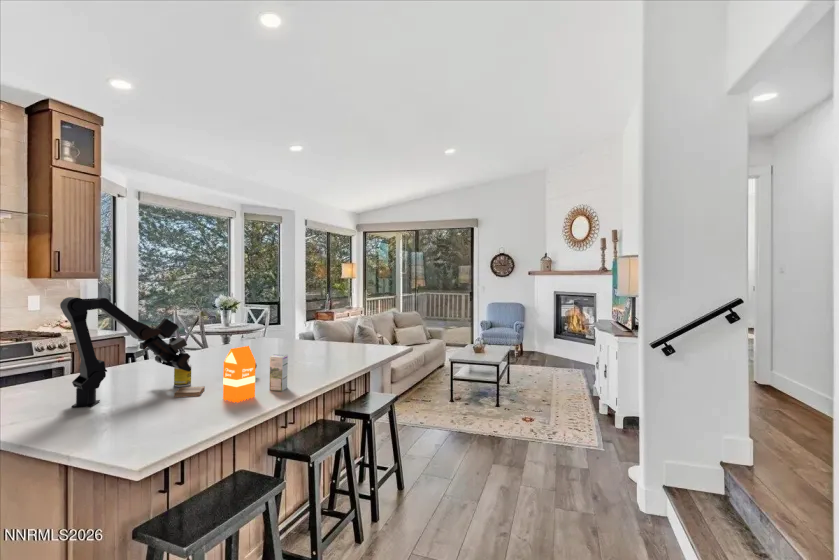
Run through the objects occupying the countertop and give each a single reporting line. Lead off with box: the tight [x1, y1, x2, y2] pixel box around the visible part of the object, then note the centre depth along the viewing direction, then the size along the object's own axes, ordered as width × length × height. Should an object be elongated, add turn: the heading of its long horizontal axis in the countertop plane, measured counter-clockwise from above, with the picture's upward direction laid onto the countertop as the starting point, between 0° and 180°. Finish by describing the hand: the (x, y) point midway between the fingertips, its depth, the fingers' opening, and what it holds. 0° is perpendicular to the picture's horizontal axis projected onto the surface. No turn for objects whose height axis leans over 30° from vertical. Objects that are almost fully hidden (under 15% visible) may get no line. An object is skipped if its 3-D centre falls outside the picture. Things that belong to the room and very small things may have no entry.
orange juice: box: [222, 345, 256, 403], centre depth 168 cm, size 8×9×20 cm
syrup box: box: [269, 353, 289, 392], centre depth 182 cm, size 6×6×14 cm
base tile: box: [173, 385, 205, 398], centre depth 173 cm, size 9×9×2 cm
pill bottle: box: [173, 358, 192, 388], centre depth 185 cm, size 6×6×12 cm
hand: (186, 369), depth 186 cm, fingers closed on pill bottle, 6 cm apart
